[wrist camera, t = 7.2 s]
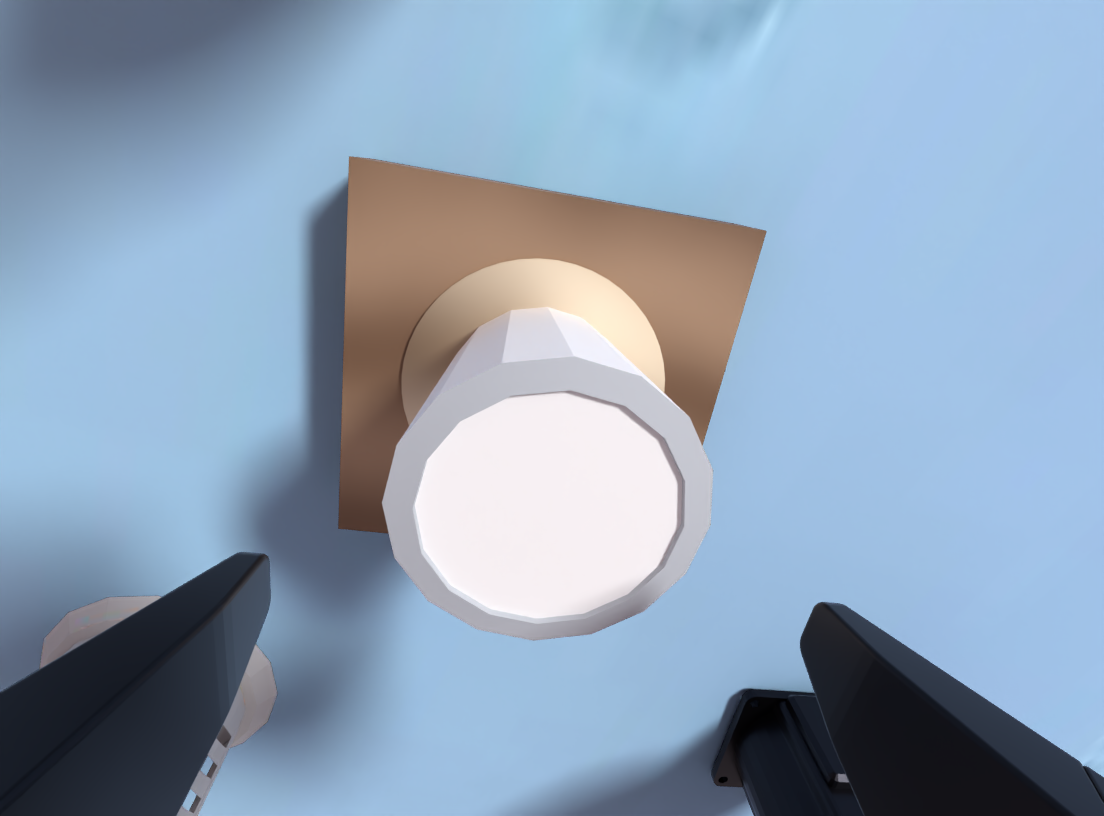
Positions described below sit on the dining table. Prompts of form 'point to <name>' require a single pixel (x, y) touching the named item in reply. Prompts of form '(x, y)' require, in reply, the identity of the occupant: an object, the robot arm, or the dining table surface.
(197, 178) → the dining table surface
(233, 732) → the french press
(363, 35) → the dining table surface
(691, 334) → the walnut plinth
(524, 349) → the white cup
